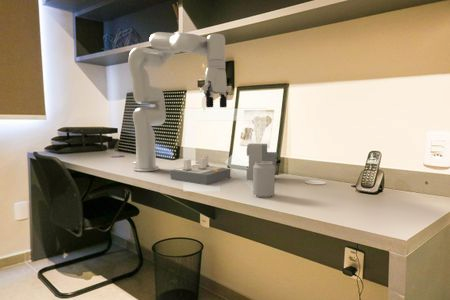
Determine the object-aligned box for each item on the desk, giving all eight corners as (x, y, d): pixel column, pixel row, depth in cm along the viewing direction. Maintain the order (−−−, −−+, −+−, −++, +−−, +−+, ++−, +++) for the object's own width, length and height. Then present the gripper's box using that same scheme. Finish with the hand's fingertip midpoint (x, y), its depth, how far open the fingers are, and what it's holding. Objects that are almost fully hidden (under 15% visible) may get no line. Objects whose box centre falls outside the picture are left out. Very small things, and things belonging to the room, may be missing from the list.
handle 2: (200, 165, 150) (200, 156, 149) (204, 165, 152) (204, 155, 152) (205, 166, 148) (205, 156, 148) (209, 165, 151) (209, 156, 150)
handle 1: (182, 169, 140) (182, 159, 139) (187, 168, 142) (187, 158, 142) (187, 170, 138) (187, 160, 138) (192, 169, 141) (192, 159, 140)
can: (257, 199, 110) (258, 164, 109) (249, 193, 117) (250, 160, 116) (278, 197, 112) (278, 162, 111) (269, 192, 119) (269, 159, 118)
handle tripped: (197, 168, 143) (197, 158, 142) (202, 167, 145) (202, 157, 145) (202, 169, 141) (202, 159, 141) (207, 168, 144) (207, 158, 143)
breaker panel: (170, 179, 143) (170, 169, 143) (196, 173, 157) (195, 163, 156) (206, 184, 132) (206, 173, 131) (230, 177, 146) (230, 167, 145)
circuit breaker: (279, 180, 139) (280, 145, 137) (246, 179, 142) (246, 145, 140) (280, 177, 146) (281, 143, 144) (248, 176, 149) (248, 143, 147)
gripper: (220, 68, 145) (221, 107, 147) (196, 64, 130) (196, 107, 132) (235, 67, 140) (235, 107, 142) (211, 62, 126) (211, 107, 128)
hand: (216, 107), depth 137 cm, fingers open, 9 cm apart
